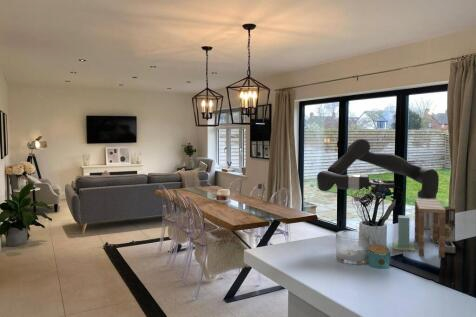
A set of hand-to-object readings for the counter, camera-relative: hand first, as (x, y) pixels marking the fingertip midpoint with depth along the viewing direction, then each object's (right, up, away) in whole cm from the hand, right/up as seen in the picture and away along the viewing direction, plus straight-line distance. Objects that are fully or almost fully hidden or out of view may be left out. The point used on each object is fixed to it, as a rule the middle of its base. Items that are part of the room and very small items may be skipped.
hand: (394, 184), depth 170 cm
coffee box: (+28, -28, +9) cm, 41 cm away
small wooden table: (+14, -30, -3) cm, 33 cm away
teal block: (+5, -29, +1) cm, 30 cm away
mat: (+5, -29, +1) cm, 30 cm away
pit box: (+22, -30, -6) cm, 37 cm away
